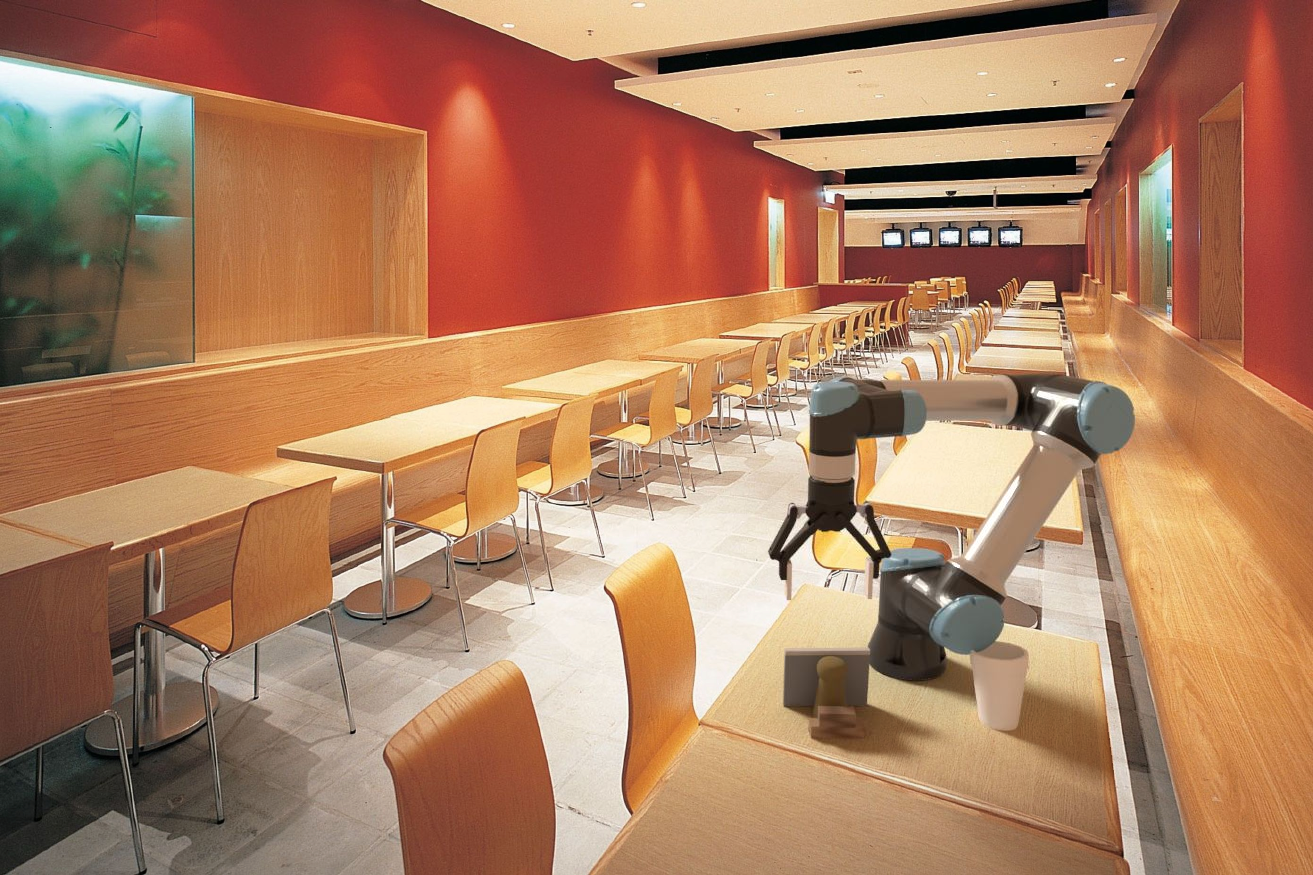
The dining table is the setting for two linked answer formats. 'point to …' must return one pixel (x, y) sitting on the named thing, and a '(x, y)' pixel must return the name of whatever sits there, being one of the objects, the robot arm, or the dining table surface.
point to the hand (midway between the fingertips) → (827, 596)
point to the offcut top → (836, 716)
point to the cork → (830, 683)
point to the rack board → (805, 678)
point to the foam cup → (999, 683)
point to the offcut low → (836, 730)
